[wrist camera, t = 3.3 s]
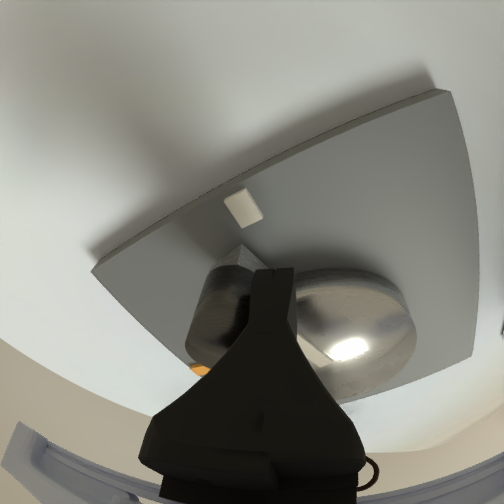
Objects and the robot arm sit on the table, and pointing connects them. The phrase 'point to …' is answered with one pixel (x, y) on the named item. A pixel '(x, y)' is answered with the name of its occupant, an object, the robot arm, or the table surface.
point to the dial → (313, 322)
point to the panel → (330, 230)
